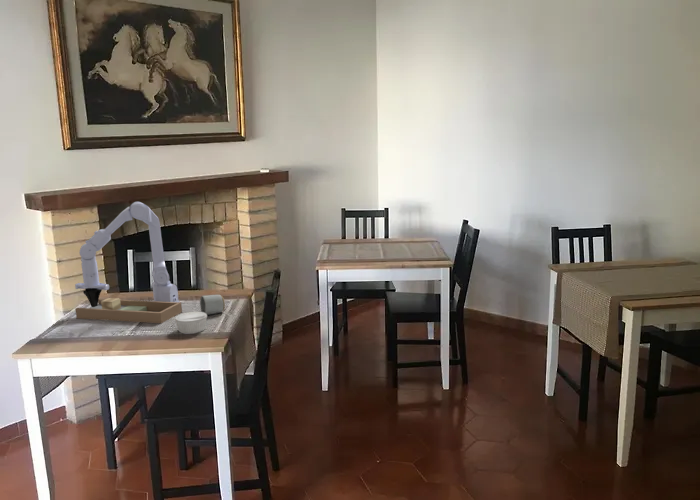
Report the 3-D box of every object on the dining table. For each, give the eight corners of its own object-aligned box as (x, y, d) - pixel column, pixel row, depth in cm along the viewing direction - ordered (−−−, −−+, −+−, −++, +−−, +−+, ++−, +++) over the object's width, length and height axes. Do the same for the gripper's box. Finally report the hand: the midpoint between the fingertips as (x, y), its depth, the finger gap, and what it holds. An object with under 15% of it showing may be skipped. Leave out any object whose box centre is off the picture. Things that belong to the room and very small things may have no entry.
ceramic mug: (226, 313, 228) (224, 294, 227) (206, 317, 224) (204, 298, 223) (217, 308, 237) (216, 289, 236) (197, 311, 233) (196, 293, 232)
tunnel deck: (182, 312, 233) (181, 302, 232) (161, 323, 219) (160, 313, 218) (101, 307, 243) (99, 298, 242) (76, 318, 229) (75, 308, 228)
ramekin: (191, 337, 203) (190, 322, 202) (169, 332, 209) (168, 318, 208) (214, 327, 212) (213, 313, 211) (193, 323, 218) (191, 310, 217)
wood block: (121, 307, 234) (120, 298, 234) (113, 311, 230) (111, 301, 229) (110, 307, 236) (109, 297, 235) (102, 310, 231) (101, 301, 230)
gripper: (68, 275, 230) (72, 308, 233) (99, 276, 226) (103, 310, 229) (80, 271, 237) (84, 303, 239) (111, 272, 233) (114, 305, 236)
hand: (94, 306), depth 235 cm, fingers closed
